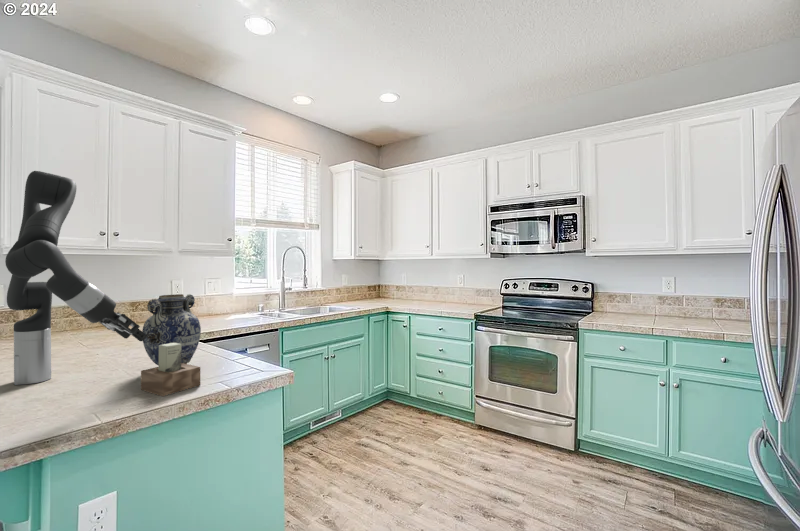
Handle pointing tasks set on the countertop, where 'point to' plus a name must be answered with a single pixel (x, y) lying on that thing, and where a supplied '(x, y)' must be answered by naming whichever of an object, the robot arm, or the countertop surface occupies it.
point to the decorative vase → (172, 326)
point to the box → (169, 357)
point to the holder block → (170, 379)
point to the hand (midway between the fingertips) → (136, 337)
